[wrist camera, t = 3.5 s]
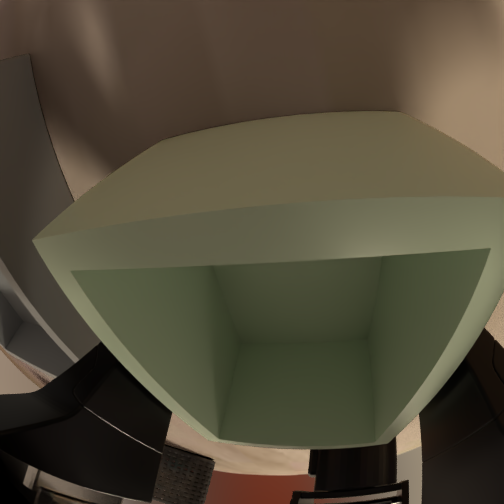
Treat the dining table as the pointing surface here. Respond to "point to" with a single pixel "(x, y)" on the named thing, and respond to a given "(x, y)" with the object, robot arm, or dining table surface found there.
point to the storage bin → (182, 477)
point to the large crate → (32, 233)
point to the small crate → (289, 273)
